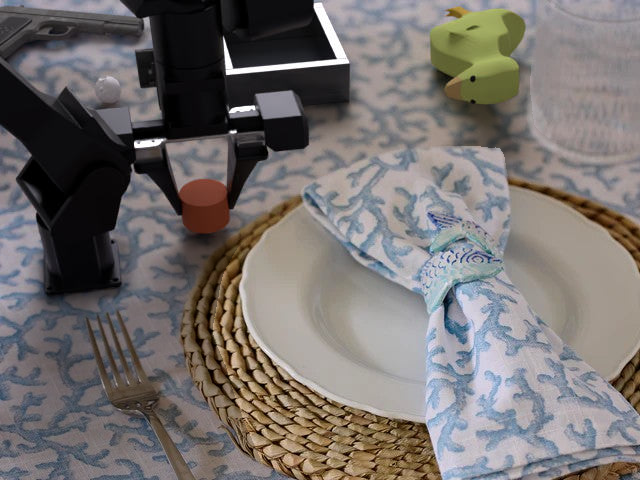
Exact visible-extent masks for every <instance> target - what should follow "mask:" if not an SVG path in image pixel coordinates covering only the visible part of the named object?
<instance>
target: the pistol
mask: <svg viewBox="0 0 640 480" xmlns="http://www.w3.org/2000/svg"><path fill="white" fill-rule="evenodd" d="M144 31H145V21H144V18H142V19H139V18H137V17H136V16H130V15H119V14H118V15H117V14H110V13H109V14H107V13H97V12H84V11H75V10H74V11H73V10H62V9H61V10H60V9H51V8H50V9H49V8H38V7H28V6H27V7H26V6H24V4H20V5H19V6H18V5H17V6H15V5H4V6H3V5H2V6H0V57H1V58H2V59H3V60H5V59H6V58H8V57H9V56H11V55H12V54H13V53H14V52H15V51H16V50H18V49H19V48H20V47H22V46H23V45H24V44H27V43H30V42H31V43H32V42H36V41H38V40H39V41H52V42H61V41H66V40H68V39H70V38H71V37H72V36H73V35H74V34H75V35H78V34H79V35H80V34H86V35H99V36H105V35H115V36H119V35H120V36H127V37H128V36H129V37H140V36H141V35H142V34H143V32H144ZM50 33H51V34H50ZM52 33H61V34H52Z"/></svg>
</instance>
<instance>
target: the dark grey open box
mask: <svg viewBox="0 0 640 480" xmlns="http://www.w3.org/2000/svg"><path fill="white" fill-rule="evenodd" d="M222 26H223V24H222ZM223 39H224V52H225V65H226V77H227V90H228V103H229V112H230V110H231V109H233V108H236V107H246V106H254V95H255V94H260V93H270V92H280V91H290V90H292V91H293V92H295V93H296V94H297V95H298V96H299V98H300V101H301V103H302V106H310V105H320V104H331V103H341V102H349V101H350V95H351V93H350V91H351V90H350V89H351V63H350V59H349V58H348V56H347V54H346V52H345V49H344V47H343V46H342V44H341V42H340V39H339V37H338V35H337V33H336V31H335V28H334V26H333V23H332V21H331V19H330V18H329V15H328V13H327V11H326V10H325V7H324V4H323V3H322V2H314V13H313V17H312V20H311V22H310V23H309V24H308V25H307V26H304V27H300V28H297V29H293V30H289V31H285V32H282V33H278V34H274V35H270V36H267V37H263V38H259V39H255V40H252V41H247V42H245V41H243V40H241V39H240V38H239V37H238V36H237V35H236V34H235V32H229V31H227V30H226V29H225V27H224V26H223Z"/></svg>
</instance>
